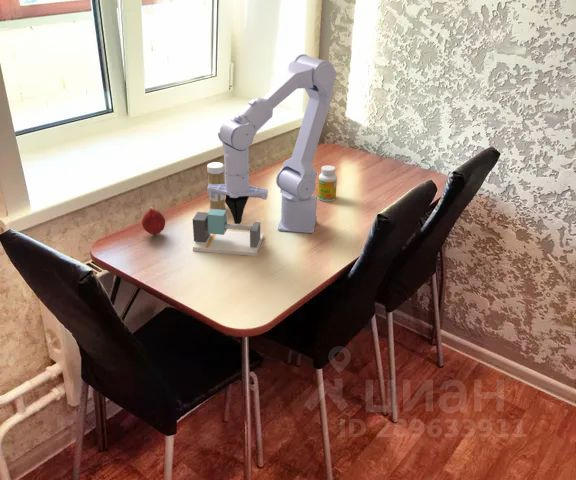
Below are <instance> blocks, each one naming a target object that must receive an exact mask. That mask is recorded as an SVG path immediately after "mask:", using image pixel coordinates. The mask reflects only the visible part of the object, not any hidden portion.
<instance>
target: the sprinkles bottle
mask: <svg viewBox="0 0 576 480" xmlns="http://www.w3.org/2000/svg"><path fill="white" fill-rule="evenodd" d="M206 168H207V169H206V170H207V171H206V172H207V174H208V175H207V178H208V181H207V182H208V186H209V185H219V184H225V167H224V163H222V162H219V161H218V162H217V161H215V162H210V163H207V166H206ZM208 196H209V211H210V210H211V209H220V210H226V203H225V199H226V195H218V194H212V195H208Z"/></svg>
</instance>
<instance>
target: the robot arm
mask: <svg viewBox="0 0 576 480" xmlns="http://www.w3.org/2000/svg"><path fill="white" fill-rule="evenodd" d="M337 74H338V73H337V71H336V69H335V67H334V65H333V64H332V62H330V60H324V59H321V58H317V57H313V56H309V55H307V54H305V53H304V54H302V53H301V54H299V55H297V56H296V57H295V58H294V59H293V60H292V61H290V62H289V63H288V67H287V71H286V72H285V73H284V74H283V75H282V76H281V77H280V78H279V79H278V81H277V82H276V83H275V84H273V86H272V87H271V88H270V90H269V91H268V92H267V93H265V95H264V96H263V97H256V98H254V99H251V100H249V101H248V104H247V106H245V107H244V108H243V109H242V110H241V112H239V113H238V114H236V115H235V116H234V118H233V119H228V120H226V121H225V122H224V123H222V125H221V127H220V129H219V132H218V133H217V137H218V139H219V141H220V142H221V143H222V149H223V159H224V160H223V162H224V163H223V165H224V184H219V185H209V184H208V185H207V188H206V192H207V193H206V194H207V195H208V196H209V195H212V194H218V195H225V205H226V206H227V208H228V209H229V211H230V213H231V215H232V219H233V222H234V223H233V224H235V225H241V223H242V221H243V214H244V210H245V208H246V204H247V202H248V201H249V200H248V199H249V198H255V199H256V198H258V199H262V200H267V199H268V196H269V195H268V193H269V192H268V189H267V188H261V187H257V186H255V185H254V186H253V185H250V166H249V164H250V163H249V162H250V161H249V147H251V146H252V144H253V142H254V138H255V136H256V135H257V132H258V131H259V130H260V129H262V127H263V126H264V125H265V124H266V123H267V122H268V121H269V120H270V119H271V118H273V114H274V112H273V111H274V109H275V108H277V106H278V105H279V104H280V103H282V102H283V101H284V100H286V99H287V98H288V97H289V96H290V95H291V94H293V93H294V92H295V91H296V90H298V89H304V90H305V91H306V93H307V96H308V101H307V104H306V107H305V109H304V110H305V111H304V114H303V118H302V121H301V125H300V127H299V130H298V135H297V137H296V141H295V145H294V148H293V151H292V154H291V157H289V158H288V159H286V160H284V161H283V163H282V166H281V168H280V170H279V171H278V173H277V174H276V177H275V181H276V183H275V184H276V186H277V187H278V188H279V190H280V193H281V208H280V209H281V211H280V212H281V213H280V214H281V215H280V218H281V219H280V222H279V224H278V228H277V230H278V231H283V232H293V233H295V232H296V233H304V234H305V233H306V234H313V233H314V231H315V226H316V224H317V217H318V216H317V208H318V207H317V205H318V204H317V202H318V196H315V195H313V194H314V193H315V190H316V179H317V174H318V173H317V170H316V169H315V167H314V165H313V164H314V163H313V161H314V158H315V155H316V151H317V148H318V145H319V141H320V138H321V135H322V132H323V129H324V125H325V122H326V119H327V115H328V112H329V110H330V105H331V103H332V99H333V94H334V84H335V81H336V79H337Z"/></svg>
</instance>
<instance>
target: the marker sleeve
mask: <svg viewBox="0 0 576 480" xmlns="http://www.w3.org/2000/svg"><path fill="white" fill-rule="evenodd" d="M207 213H208V234H219V235H224V234H225V232H226V230H227V229H226V228H224V224H228V211H227V209H224V210H220V209H211V210H210V209H209V211H208V212H207ZM227 231H228V230H227Z"/></svg>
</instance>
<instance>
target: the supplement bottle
mask: <svg viewBox="0 0 576 480" xmlns="http://www.w3.org/2000/svg"><path fill="white" fill-rule="evenodd" d="M320 168H321V170H320V172H321V173H320V174H319V175H318V182H317V183H318V184H317V200H319V201H320V202H326V203H329V202H333V201H335V200H336V195H337V185H338V184H337V183H338V175H336V167H335V166H333V165H326V164H325V165H322V166H321V167H320Z"/></svg>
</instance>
